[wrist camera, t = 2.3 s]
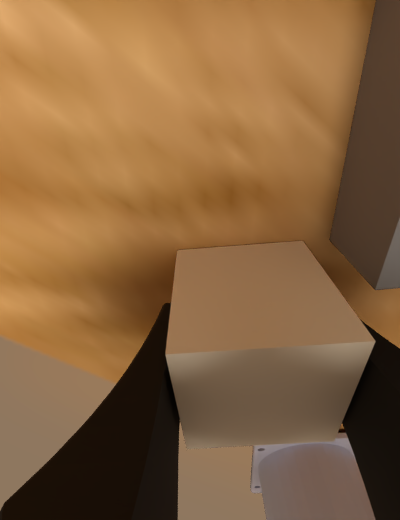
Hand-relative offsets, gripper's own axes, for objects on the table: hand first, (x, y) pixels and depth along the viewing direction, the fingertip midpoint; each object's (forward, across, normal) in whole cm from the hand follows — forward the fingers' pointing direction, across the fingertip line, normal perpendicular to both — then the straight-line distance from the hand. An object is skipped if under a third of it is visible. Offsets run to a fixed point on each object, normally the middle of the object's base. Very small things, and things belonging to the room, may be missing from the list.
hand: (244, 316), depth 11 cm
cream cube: (+1, 0, 0) cm, 1 cm away
